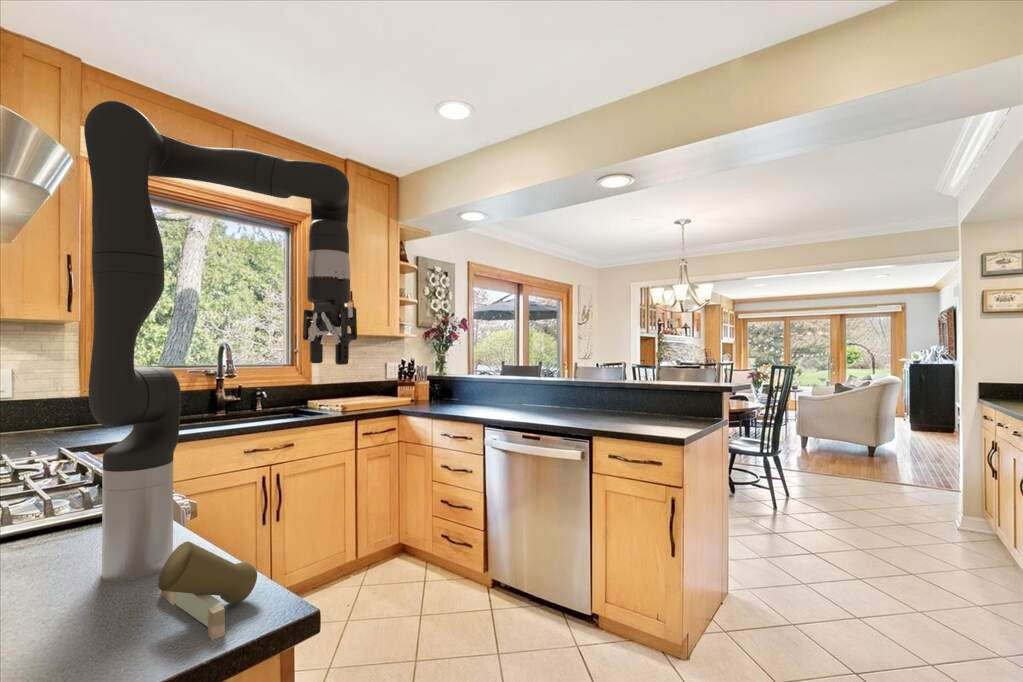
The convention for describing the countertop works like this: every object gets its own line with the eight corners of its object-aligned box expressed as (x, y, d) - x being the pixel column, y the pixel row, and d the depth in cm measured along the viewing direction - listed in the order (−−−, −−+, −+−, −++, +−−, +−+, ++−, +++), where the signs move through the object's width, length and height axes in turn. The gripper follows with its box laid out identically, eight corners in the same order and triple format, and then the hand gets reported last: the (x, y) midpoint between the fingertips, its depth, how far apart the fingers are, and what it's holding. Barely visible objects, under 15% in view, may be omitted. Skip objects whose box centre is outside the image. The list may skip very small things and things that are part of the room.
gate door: (176, 604, 67) (176, 583, 67) (185, 601, 68) (185, 579, 68) (213, 631, 61) (214, 607, 61) (223, 626, 62) (223, 603, 62)
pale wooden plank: (160, 594, 70) (161, 570, 71) (172, 590, 72) (172, 567, 72) (212, 641, 59) (212, 613, 59) (224, 636, 60) (224, 608, 60)
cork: (151, 588, 62) (227, 606, 70) (172, 593, 59) (250, 611, 66) (177, 540, 66) (247, 561, 73) (199, 542, 63) (270, 564, 70)
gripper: (290, 278, 91) (289, 363, 91) (332, 271, 83) (332, 365, 83) (326, 282, 97) (326, 362, 97) (369, 276, 89) (369, 364, 88)
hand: (328, 363), depth 90 cm, fingers open, 8 cm apart
